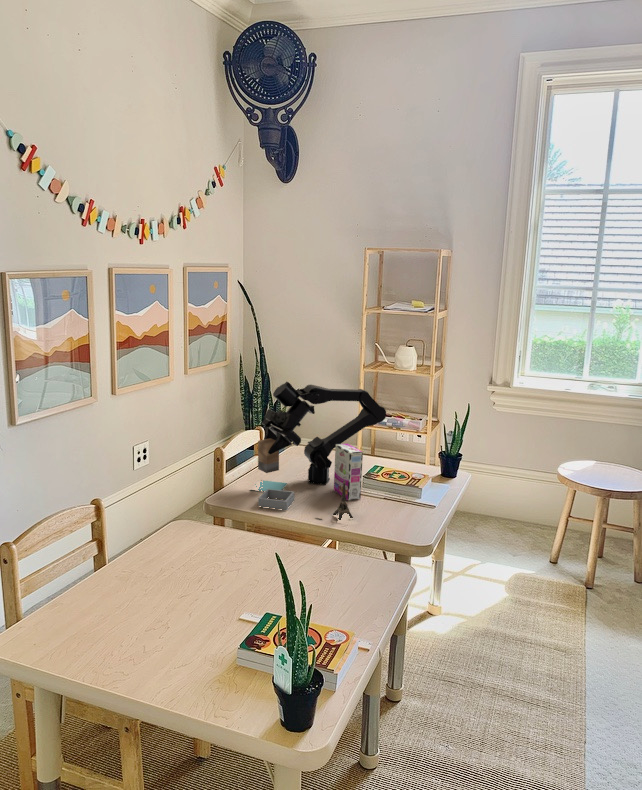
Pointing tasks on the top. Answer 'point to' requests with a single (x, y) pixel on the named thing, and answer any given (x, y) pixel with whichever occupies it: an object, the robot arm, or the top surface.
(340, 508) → the eiffel tower figurine
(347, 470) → the candy bar box
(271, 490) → the crate
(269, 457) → the block
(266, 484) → the mat
